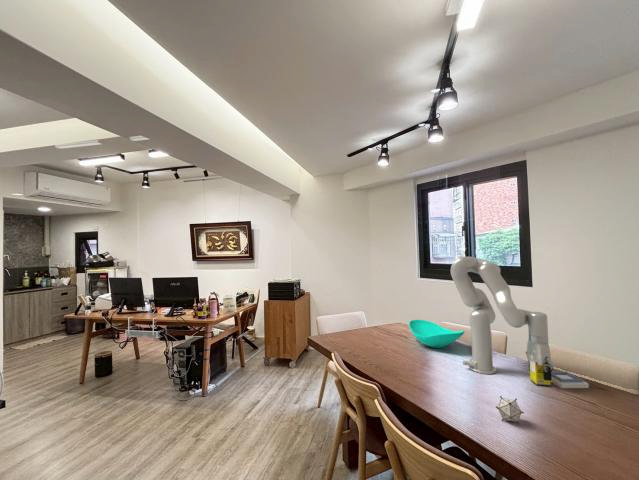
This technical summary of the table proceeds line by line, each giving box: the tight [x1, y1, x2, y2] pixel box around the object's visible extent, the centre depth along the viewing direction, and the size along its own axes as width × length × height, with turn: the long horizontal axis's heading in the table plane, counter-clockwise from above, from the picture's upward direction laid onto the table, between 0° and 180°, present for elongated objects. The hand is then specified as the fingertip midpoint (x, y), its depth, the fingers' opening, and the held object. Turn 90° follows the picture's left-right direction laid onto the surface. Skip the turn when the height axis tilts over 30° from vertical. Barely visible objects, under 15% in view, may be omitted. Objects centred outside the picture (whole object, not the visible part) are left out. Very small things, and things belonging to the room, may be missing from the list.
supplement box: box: [529, 360, 551, 387], centre depth 141 cm, size 6×6×11 cm
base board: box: [550, 371, 590, 389], centre depth 142 cm, size 12×12×3 cm
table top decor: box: [408, 319, 465, 349], centre depth 199 cm, size 40×28×13 cm
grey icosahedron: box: [495, 395, 525, 425], centre depth 111 cm, size 9×8×10 cm
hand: (540, 375), depth 141 cm, fingers open, 9 cm apart
